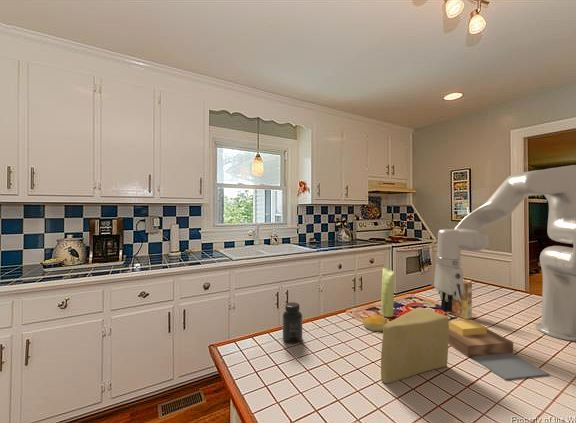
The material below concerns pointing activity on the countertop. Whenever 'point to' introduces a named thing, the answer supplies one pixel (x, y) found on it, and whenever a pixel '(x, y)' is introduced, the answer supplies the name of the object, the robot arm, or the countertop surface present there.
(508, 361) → the mat
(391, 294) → the tube
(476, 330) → the yellow block
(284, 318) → the supplement bottle
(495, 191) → the robot arm
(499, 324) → the countertop surface
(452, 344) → the brown wooden block
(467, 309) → the candy box
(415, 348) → the cheese
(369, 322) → the bread roll
